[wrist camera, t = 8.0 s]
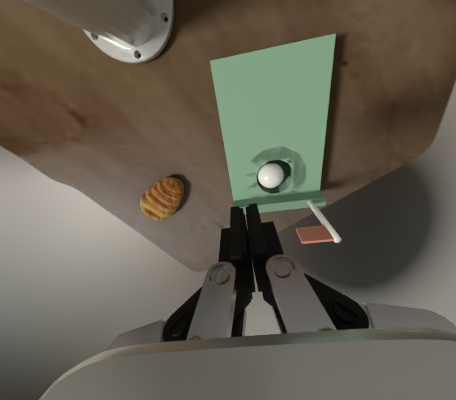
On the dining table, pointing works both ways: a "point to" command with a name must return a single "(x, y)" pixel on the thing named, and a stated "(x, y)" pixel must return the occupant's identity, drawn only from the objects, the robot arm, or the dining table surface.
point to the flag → (318, 229)
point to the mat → (276, 120)
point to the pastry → (162, 198)
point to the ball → (270, 175)
